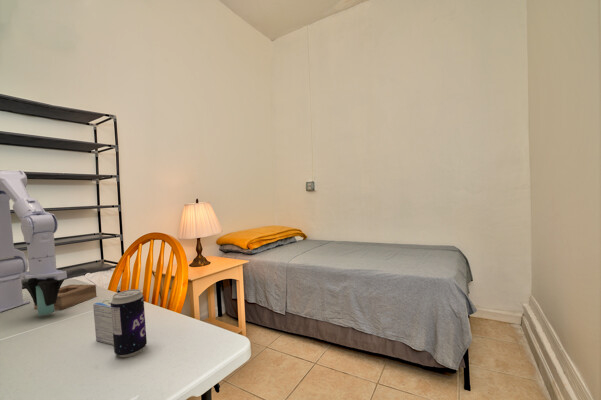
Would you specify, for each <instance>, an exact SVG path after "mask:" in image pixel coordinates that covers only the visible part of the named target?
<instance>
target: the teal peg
mask: <svg viewBox="0 0 601 400" xmlns="http://www.w3.org/2000/svg"><path fill="white" fill-rule="evenodd" d="M36 297H37V309H36V310H37V315H38V316H44V315H45V316H46V315H49V314H52V313H54V312H55V310H54V304H52V305H49V306H46V304H45V301H44V295H43V292H42V290H41V288H40V287H39V285H37V286H36Z"/></svg>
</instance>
